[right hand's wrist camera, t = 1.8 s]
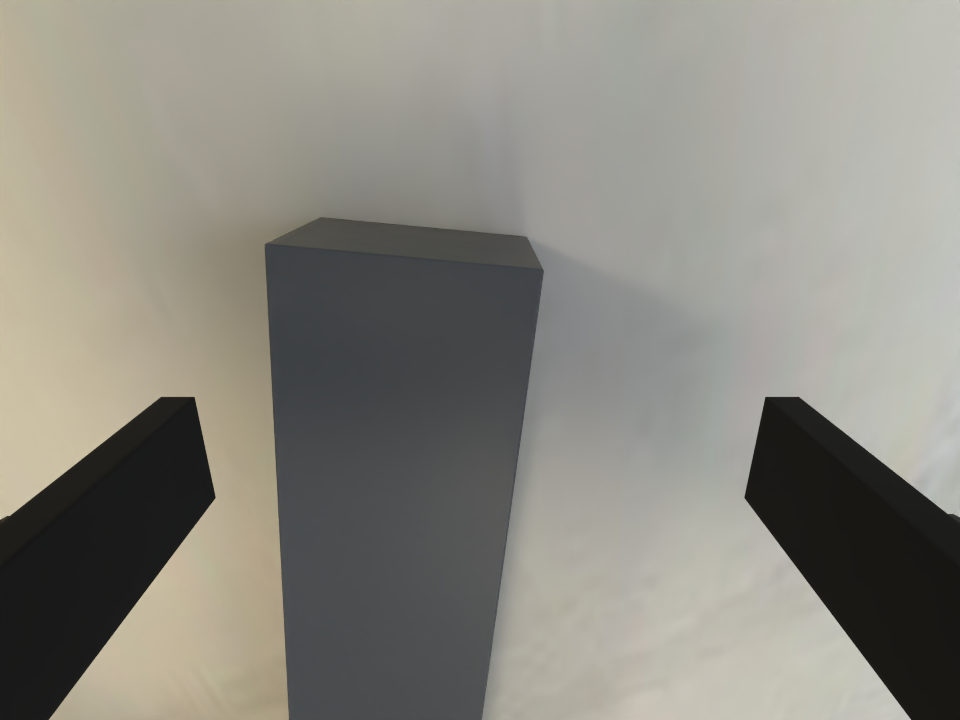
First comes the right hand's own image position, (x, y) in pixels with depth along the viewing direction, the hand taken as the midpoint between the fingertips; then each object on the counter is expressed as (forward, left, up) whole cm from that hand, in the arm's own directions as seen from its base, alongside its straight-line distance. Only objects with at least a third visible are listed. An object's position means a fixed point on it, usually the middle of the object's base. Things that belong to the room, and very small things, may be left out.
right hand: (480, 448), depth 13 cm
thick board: (+11, -24, -14) cm, 30 cm away
